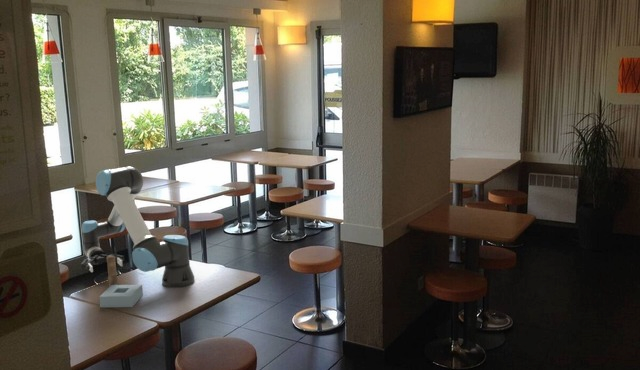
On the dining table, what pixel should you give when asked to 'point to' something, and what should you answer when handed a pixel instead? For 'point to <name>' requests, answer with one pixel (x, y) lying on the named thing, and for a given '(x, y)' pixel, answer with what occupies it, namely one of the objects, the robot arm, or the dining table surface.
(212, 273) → the dining table surface
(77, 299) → the dining table surface
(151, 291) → the dining table surface
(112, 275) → the walnut peg
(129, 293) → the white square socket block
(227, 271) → the dining table surface
